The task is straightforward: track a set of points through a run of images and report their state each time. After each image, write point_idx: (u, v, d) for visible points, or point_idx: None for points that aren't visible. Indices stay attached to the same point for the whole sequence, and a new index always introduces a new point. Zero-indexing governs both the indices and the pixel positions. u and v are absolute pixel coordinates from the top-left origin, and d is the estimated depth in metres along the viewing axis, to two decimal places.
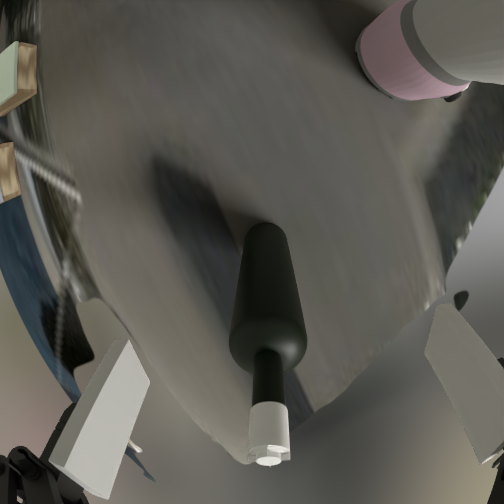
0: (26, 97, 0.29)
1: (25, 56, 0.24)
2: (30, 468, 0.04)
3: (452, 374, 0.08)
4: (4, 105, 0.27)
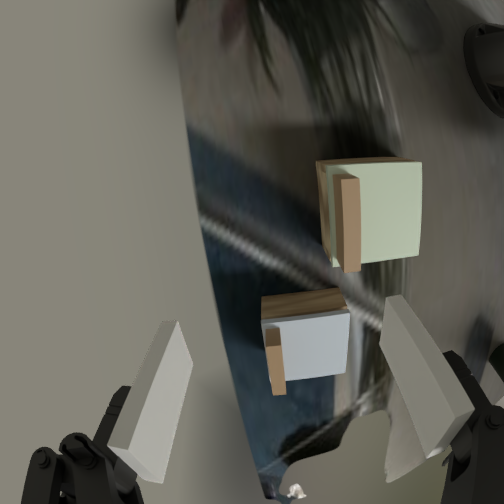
0: None
1: None
2: (86, 456, 0.05)
3: (400, 364, 0.09)
4: None
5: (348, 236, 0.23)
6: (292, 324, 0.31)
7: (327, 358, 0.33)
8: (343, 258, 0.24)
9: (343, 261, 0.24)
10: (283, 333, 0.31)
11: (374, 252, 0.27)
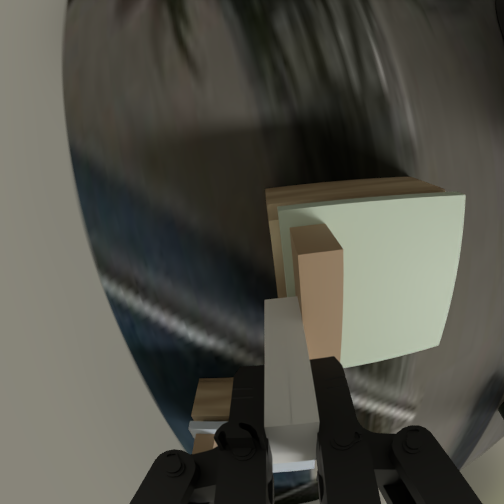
0: None
1: None
2: (244, 447, 0.06)
3: None
4: None
5: (314, 358, 0.11)
6: None
7: None
8: None
9: None
10: None
11: (367, 352, 0.15)
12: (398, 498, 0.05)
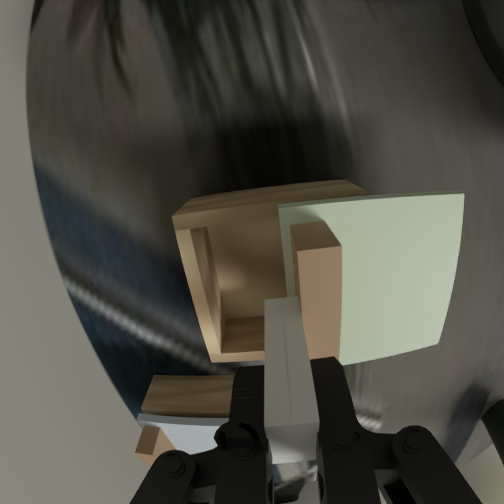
0: None
1: None
2: (244, 447, 0.06)
3: None
4: None
5: (313, 354, 0.12)
6: (174, 427, 0.19)
7: None
8: None
9: None
10: (167, 432, 0.20)
11: (366, 349, 0.15)
12: (398, 498, 0.05)
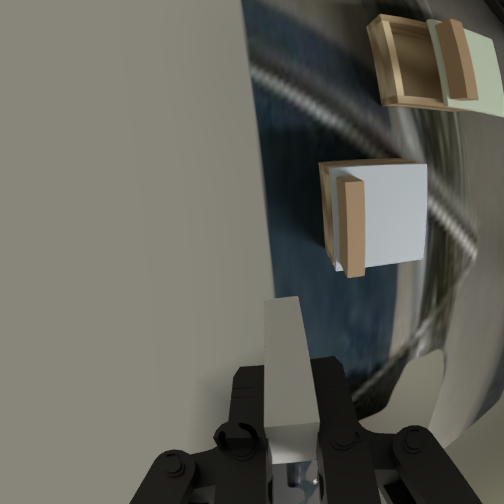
0: (444, 110, 0.24)
1: None
2: (244, 447, 0.06)
3: None
4: (436, 106, 0.21)
5: (464, 64, 0.15)
6: (367, 171, 0.23)
7: (405, 231, 0.25)
8: (464, 84, 0.16)
9: (464, 86, 0.16)
10: None
11: (476, 101, 0.19)
12: (398, 498, 0.05)
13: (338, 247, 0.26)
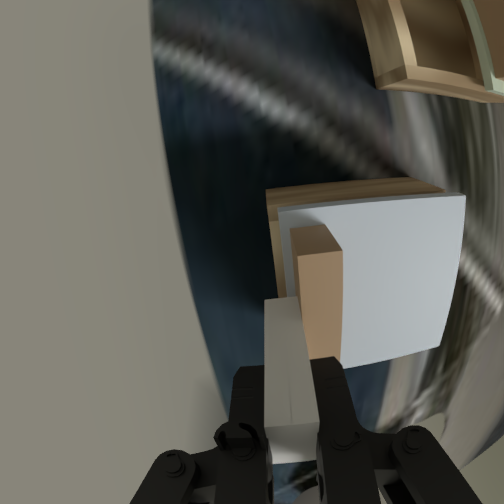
0: (477, 99, 0.13)
1: None
2: (244, 447, 0.06)
3: None
4: (471, 90, 0.10)
5: None
6: (355, 215, 0.12)
7: (417, 313, 0.14)
8: None
9: None
10: None
11: None
12: (398, 498, 0.05)
13: None
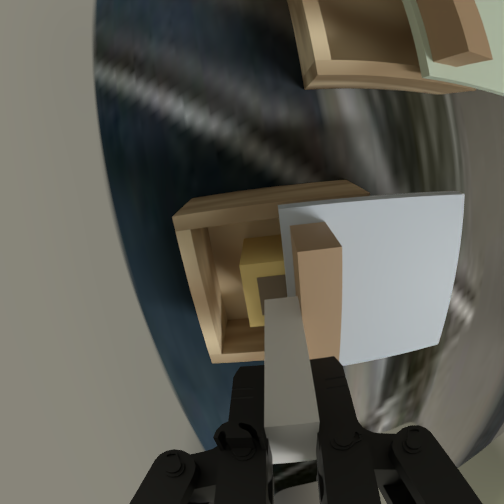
0: (428, 90, 0.13)
1: None
2: (244, 447, 0.06)
3: None
4: (407, 79, 0.11)
5: None
6: (355, 212, 0.12)
7: (416, 311, 0.14)
8: (458, 25, 0.06)
9: (459, 29, 0.06)
10: None
11: (486, 71, 0.08)
12: (398, 498, 0.05)
13: None
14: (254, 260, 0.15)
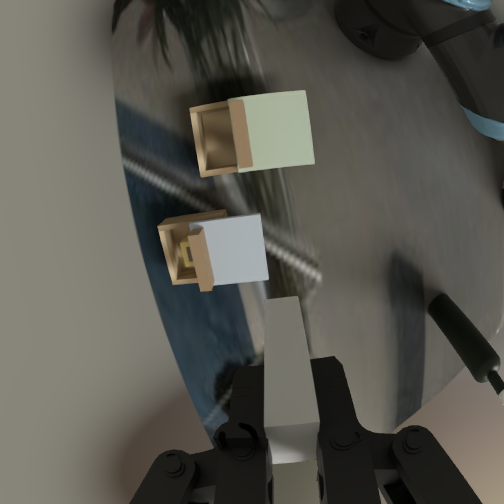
0: None
1: None
2: (244, 447, 0.06)
3: None
4: None
5: (238, 140, 0.32)
6: (213, 224, 0.39)
7: (248, 261, 0.41)
8: None
9: (237, 159, 0.33)
10: (207, 233, 0.40)
11: (272, 160, 0.35)
12: (398, 498, 0.05)
13: None
14: (185, 241, 0.42)
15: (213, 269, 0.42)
